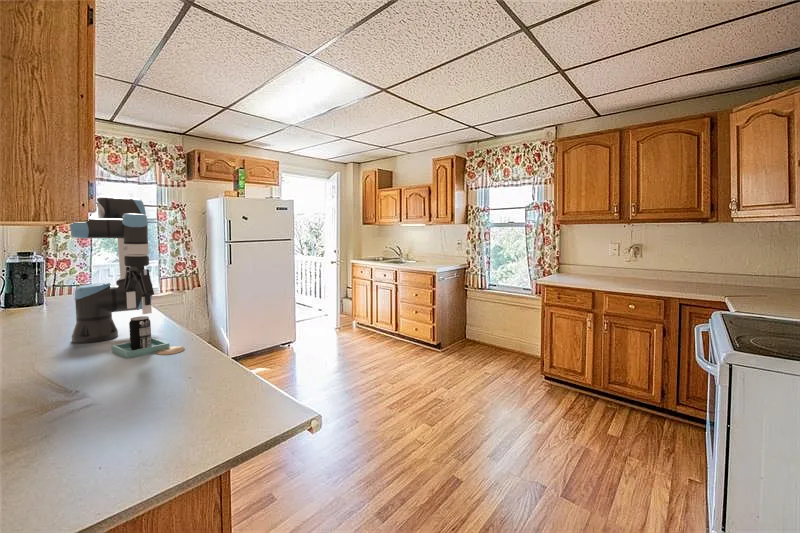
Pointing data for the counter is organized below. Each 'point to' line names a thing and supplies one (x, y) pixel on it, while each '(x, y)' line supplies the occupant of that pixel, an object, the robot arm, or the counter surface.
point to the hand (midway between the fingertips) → (139, 310)
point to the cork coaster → (170, 350)
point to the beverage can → (140, 332)
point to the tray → (128, 353)
